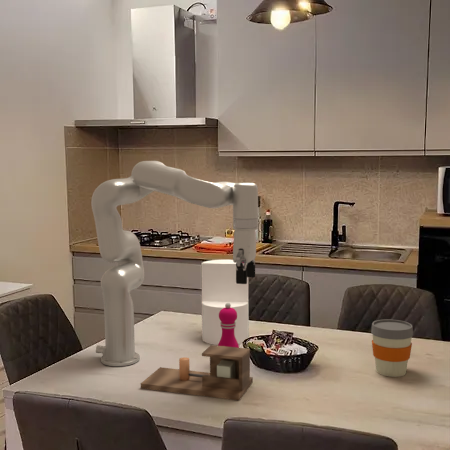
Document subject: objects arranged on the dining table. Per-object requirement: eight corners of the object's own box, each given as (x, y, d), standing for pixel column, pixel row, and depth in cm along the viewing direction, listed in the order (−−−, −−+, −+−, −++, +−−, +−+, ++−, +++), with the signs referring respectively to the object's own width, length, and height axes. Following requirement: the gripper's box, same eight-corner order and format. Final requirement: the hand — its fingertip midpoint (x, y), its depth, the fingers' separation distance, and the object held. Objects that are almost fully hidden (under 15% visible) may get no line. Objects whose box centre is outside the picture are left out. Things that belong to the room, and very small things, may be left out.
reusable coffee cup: (414, 367, 191) (416, 321, 189) (408, 381, 180) (410, 332, 178) (374, 362, 196) (375, 317, 195) (366, 375, 185) (367, 327, 183)
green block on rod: (176, 381, 177) (176, 361, 176) (183, 375, 182) (182, 355, 181) (230, 387, 172) (230, 367, 171) (235, 381, 177) (235, 361, 176)
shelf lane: (140, 388, 176) (139, 350, 175) (160, 371, 189) (159, 336, 188) (239, 400, 167) (239, 361, 165) (252, 382, 180) (252, 345, 179)
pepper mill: (237, 367, 193) (236, 306, 190) (215, 365, 194) (214, 305, 192) (241, 359, 200) (240, 300, 197) (219, 358, 201) (219, 299, 199)
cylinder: (206, 330, 233) (205, 259, 230) (250, 332, 231) (250, 259, 227) (198, 344, 216) (197, 267, 213) (246, 346, 214) (245, 268, 210)
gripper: (241, 220, 189) (241, 274, 191) (224, 227, 173) (225, 285, 175) (264, 221, 187) (264, 275, 189) (250, 227, 171) (250, 287, 173)
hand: (245, 280), depth 182 cm, fingers open, 9 cm apart
